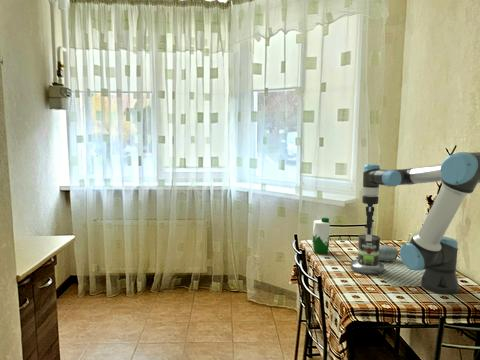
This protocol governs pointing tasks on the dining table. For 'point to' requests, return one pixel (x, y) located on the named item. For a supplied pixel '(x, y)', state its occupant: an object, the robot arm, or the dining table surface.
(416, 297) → the dining table surface
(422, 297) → the dining table surface
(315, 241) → the milk carton
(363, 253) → the coffee can
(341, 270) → the dining table surface
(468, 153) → the robot arm
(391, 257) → the gray rounded cylinder
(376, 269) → the plate
